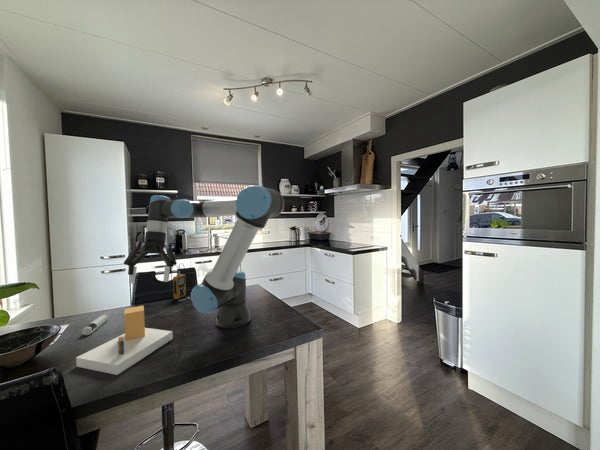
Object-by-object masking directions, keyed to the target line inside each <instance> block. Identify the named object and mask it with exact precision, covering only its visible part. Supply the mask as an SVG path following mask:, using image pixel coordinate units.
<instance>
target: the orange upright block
mask: <svg viewBox="0 0 600 450" xmlns="http://www.w3.org/2000/svg"><path fill="white" fill-rule="evenodd" d="M123 315H124V316H123V318H124V334H125V341H128V340H132V339H136V338H140V337H144V336H145V328H146V324H145V307H144V305H139V306H134V307H128V308H124V314H123Z"/></svg>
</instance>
